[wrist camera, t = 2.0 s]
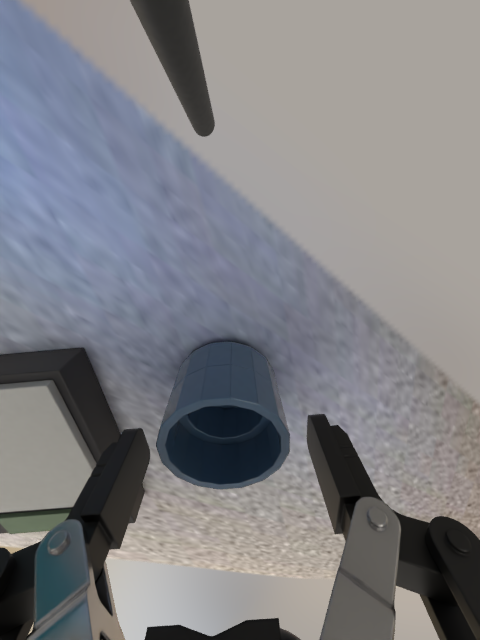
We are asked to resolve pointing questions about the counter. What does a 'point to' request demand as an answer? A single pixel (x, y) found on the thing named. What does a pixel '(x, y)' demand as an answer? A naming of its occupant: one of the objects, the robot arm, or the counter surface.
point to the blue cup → (224, 419)
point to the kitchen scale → (49, 436)
